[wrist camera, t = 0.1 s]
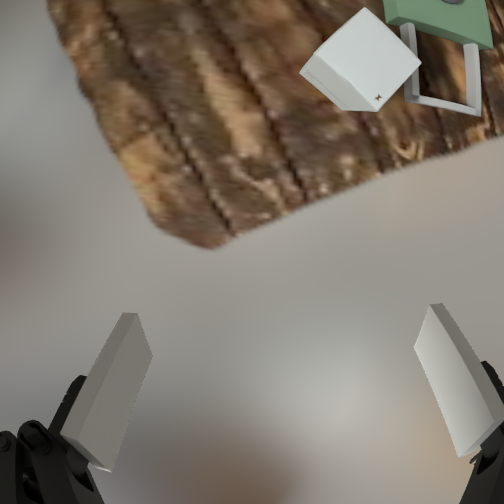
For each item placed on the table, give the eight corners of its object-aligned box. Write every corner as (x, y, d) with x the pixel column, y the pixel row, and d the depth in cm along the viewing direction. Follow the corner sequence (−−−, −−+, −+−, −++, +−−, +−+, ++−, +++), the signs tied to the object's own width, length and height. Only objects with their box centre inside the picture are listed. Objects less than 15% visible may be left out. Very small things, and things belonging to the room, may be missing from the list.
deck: (374, -44, 21) (386, -59, 16) (466, -14, 20) (484, -21, 15) (390, 99, 31) (408, 99, 26) (480, 117, 30) (501, 121, 25)
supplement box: (377, 74, 30) (425, 64, 19) (341, 111, 33) (377, 115, 21) (334, 34, 28) (366, 4, 17) (296, 72, 31) (312, 53, 19)
